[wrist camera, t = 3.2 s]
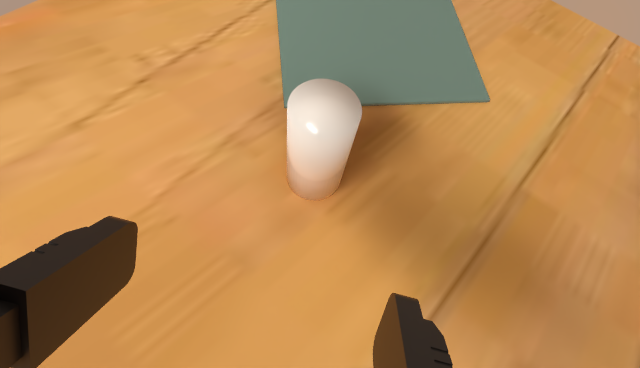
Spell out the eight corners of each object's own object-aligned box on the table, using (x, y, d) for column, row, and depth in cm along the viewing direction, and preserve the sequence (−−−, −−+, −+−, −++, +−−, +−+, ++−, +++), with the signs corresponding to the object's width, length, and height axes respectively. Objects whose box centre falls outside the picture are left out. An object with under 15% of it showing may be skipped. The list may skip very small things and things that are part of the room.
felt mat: (437, -29, 42) (438, -32, 42) (488, 102, 34) (490, 100, 34) (273, -33, 40) (273, -35, 40) (284, 108, 31) (284, 105, 31)
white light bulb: (336, 151, 30) (355, 78, 22) (343, 198, 28) (367, 137, 20) (285, 153, 29) (284, 79, 21) (288, 202, 28) (289, 141, 19)
